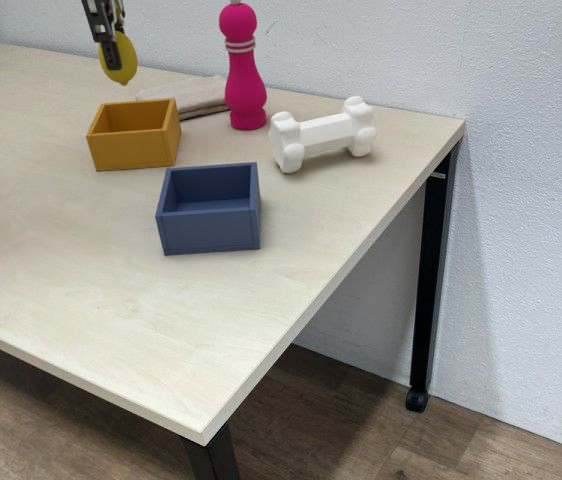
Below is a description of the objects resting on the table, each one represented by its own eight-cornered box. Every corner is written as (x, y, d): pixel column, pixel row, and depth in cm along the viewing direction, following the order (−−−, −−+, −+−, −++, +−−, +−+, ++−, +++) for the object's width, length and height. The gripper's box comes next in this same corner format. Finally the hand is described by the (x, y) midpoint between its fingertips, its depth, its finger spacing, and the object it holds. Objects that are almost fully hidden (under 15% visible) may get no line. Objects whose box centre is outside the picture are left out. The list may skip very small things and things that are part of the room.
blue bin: (164, 255, 80) (154, 216, 75) (174, 205, 88) (166, 168, 84) (260, 249, 79) (255, 209, 75) (260, 199, 88) (256, 161, 84)
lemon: (119, 95, 91) (104, 37, 86) (100, 87, 95) (85, 30, 89) (149, 84, 94) (137, 27, 88) (130, 76, 97) (117, 20, 91)
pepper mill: (253, 110, 110) (241, -18, 96) (277, 122, 106) (267, -10, 92) (220, 122, 108) (202, -7, 93) (242, 135, 103) (227, 1, 89)
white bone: (355, 139, 99) (356, 87, 94) (378, 161, 94) (381, 108, 88) (268, 158, 97) (264, 107, 91) (287, 183, 91) (283, 129, 85)
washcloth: (246, 106, 112) (245, 89, 109) (152, 129, 107) (148, 111, 105) (225, 85, 119) (223, 69, 117) (136, 106, 115) (132, 89, 113)
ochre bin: (96, 171, 98) (85, 136, 93) (110, 137, 106) (100, 103, 102) (173, 165, 97) (166, 130, 93) (181, 131, 106) (175, 97, 102)
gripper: (69, -83, 85) (103, 48, 97) (43, -61, 75) (84, 82, 87) (122, -88, 85) (149, 44, 97) (103, -67, 75) (136, 78, 87)
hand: (118, 61), depth 92 cm, fingers closed on lemon, 5 cm apart
